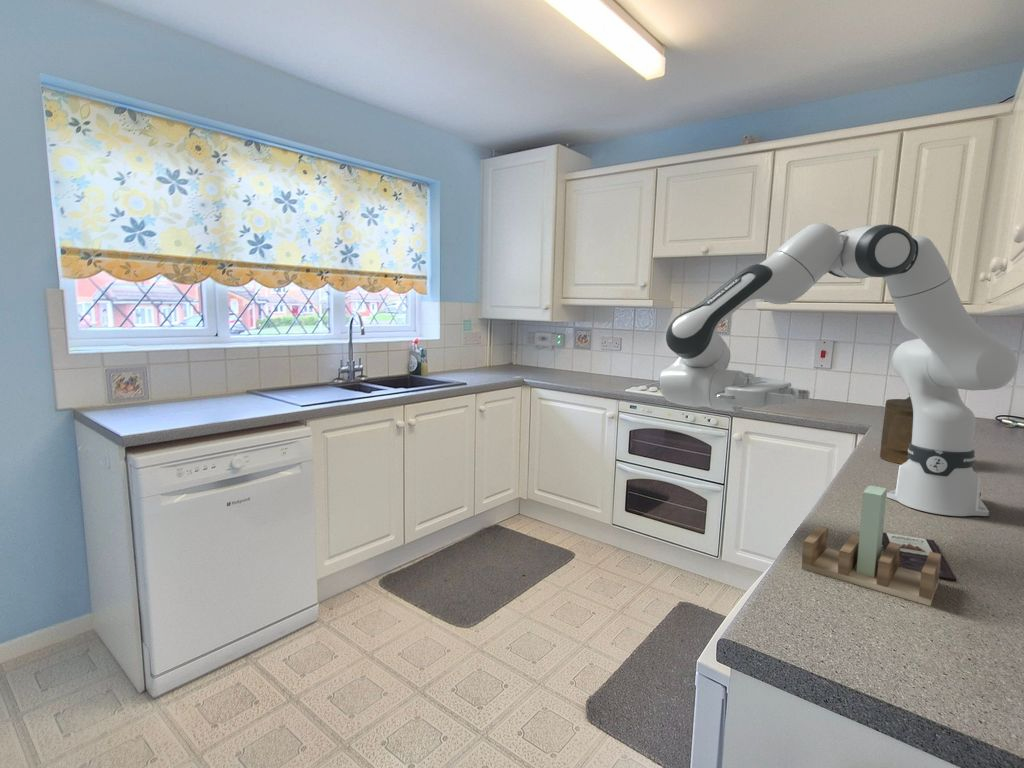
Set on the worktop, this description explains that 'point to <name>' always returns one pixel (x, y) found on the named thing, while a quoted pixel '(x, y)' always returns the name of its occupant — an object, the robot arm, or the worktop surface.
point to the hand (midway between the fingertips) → (801, 397)
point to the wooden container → (897, 430)
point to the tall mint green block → (871, 530)
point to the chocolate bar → (917, 553)
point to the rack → (887, 576)
